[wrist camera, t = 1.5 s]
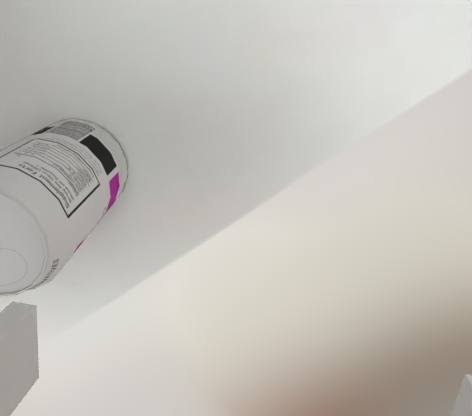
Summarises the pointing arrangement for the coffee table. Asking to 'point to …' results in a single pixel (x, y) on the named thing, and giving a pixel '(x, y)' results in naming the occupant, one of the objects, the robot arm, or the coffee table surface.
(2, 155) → the supplement can
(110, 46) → the coffee table surface
